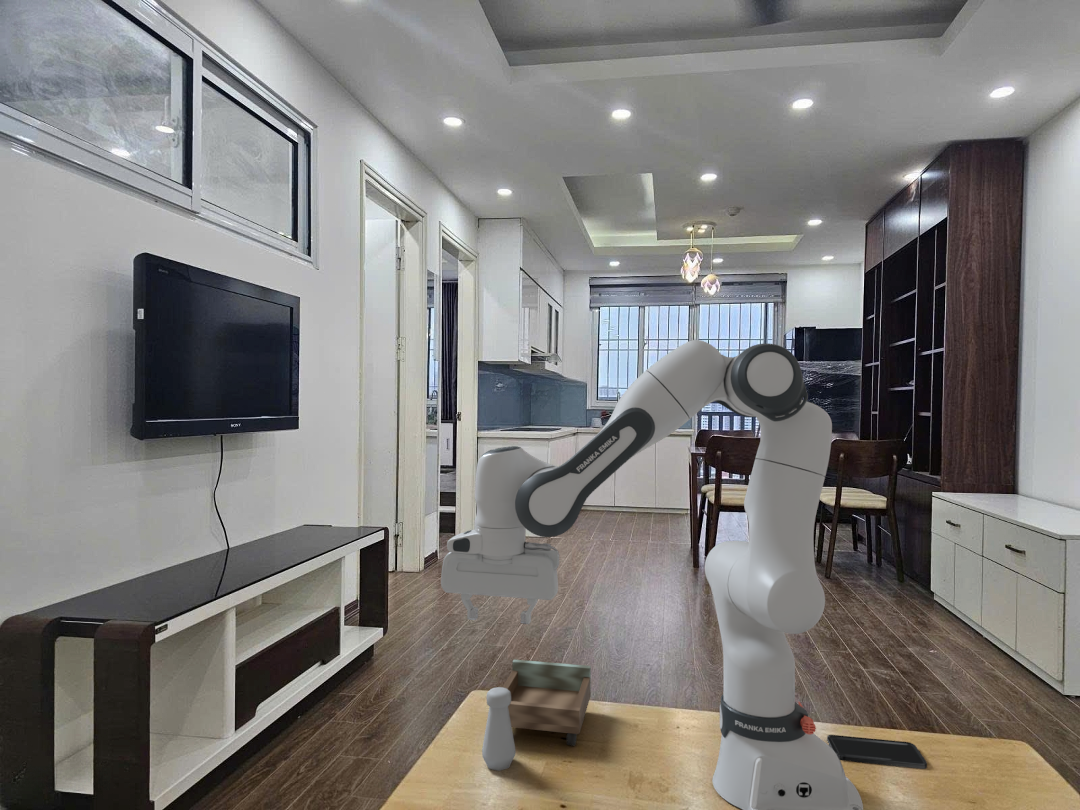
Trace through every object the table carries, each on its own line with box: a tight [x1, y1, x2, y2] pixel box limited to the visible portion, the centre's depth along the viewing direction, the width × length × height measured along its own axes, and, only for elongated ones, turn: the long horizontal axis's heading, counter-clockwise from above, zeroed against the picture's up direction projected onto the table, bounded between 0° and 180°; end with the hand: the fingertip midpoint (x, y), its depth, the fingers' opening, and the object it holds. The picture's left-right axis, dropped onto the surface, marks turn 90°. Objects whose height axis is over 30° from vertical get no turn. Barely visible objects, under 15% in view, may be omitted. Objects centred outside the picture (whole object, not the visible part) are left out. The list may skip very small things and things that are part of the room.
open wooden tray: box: [502, 659, 592, 747], centre depth 129 cm, size 16×16×9 cm
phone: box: [826, 734, 928, 770], centre depth 120 cm, size 8×1×15 cm
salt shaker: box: [481, 686, 516, 772], centre depth 115 cm, size 6×6×13 cm
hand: (498, 621), depth 115 cm, fingers open, 8 cm apart
